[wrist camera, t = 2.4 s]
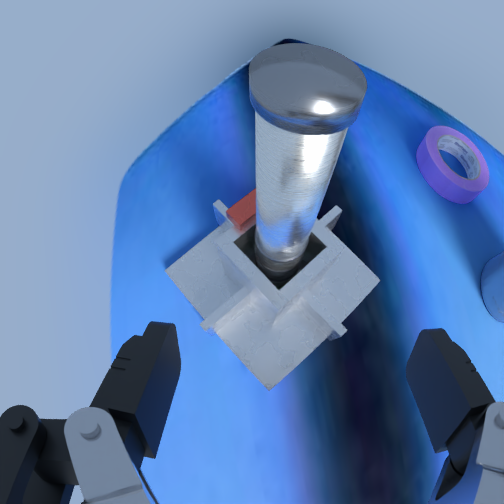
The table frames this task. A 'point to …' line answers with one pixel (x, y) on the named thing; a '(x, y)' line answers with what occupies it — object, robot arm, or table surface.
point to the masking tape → (442, 174)
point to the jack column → (297, 144)
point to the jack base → (270, 291)
